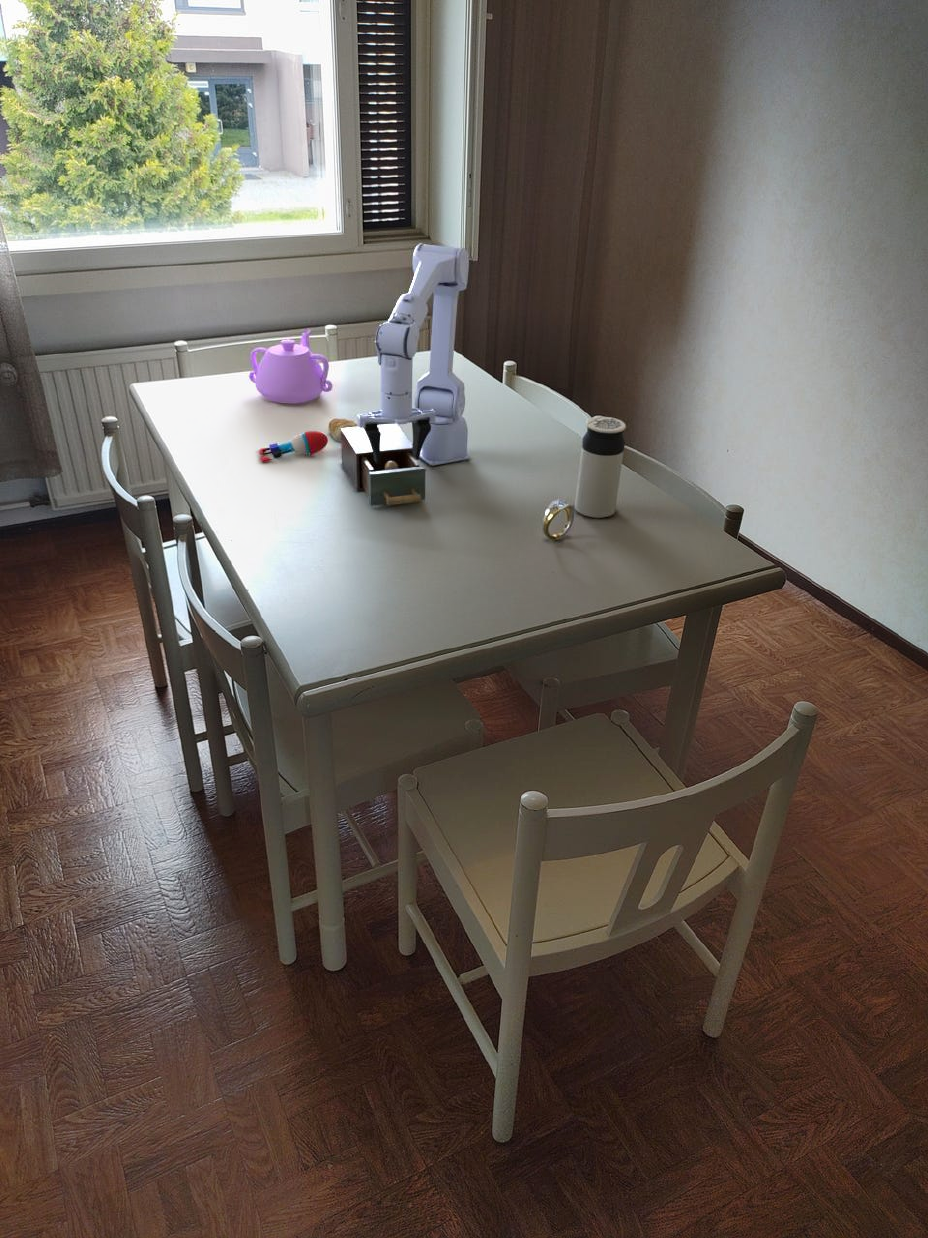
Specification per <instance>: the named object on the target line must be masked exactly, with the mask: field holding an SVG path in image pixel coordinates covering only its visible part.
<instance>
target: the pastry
mask: <svg viewBox="0 0 928 1238" xmlns="http://www.w3.org/2000/svg"><path fill="white" fill-rule="evenodd" d="M351 427H359V426H358V423H356V422H355V421H354V420H351V419H347V418H333V419H331V420H330V421H328V432H329V434H330V435H331V438H332V439H334V441H336V442H339V443H341V428H351Z"/></svg>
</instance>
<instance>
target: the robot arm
mask: <svg viewBox="0 0 928 1238" xmlns="http://www.w3.org/2000/svg"><path fill="white" fill-rule="evenodd" d="M469 266H470V258H469V254H468V252H467V250H466V248H465V247H454V246H445V245H436V244H435V245H433V244H425V243H423V242H420V243H418V244H417V245H416V247H415V248H414V251H413V253H412V272H413V275H414V276H413V279H412V282H411V284H410V287H409V290H408V293H403V294H402V295H401V296H400V297H399V298H398V300H397V302H396V304H395V306H394V308H393V311H392V312H391V314H390V316H389V318H388V320H387V321H384V322H383V323H382V324H379V326H378V327H377V330H376V333H375V341H374V348H375V352H376V355H377V363H378V365H379V366H380V405H381V406H380V410H375V411H371V412H367V413H359V414H357V415H356V416H357V417H356V420H357V423H356V424H357V425H358V426H359V427H360V428H364V430H365V432H366V434H367V437H368V439H369V441H370V444H371V447H372V451H373V456H374V460H375V462H376V463H377V464H378V463H380V439H381V433H380V431H379V427H378V426H377V425H387V424H398V425H407V424H409V423H411V428H412V429H411V430H412V444H413V447H412V453H413V457H414V458H415V460H416V461H418V460H420V459H421V460H422V461H424V463H426V464H427V465H428V466H430V467H435V466H438V465H439V466H440V465H443V464H449V463H450V464H451V463H455V462H460V461H466V460H468V459H469V456H468V438H469V437H468V436H469V434H468V433H469V431H468V430H469V429H468V424H467V421H466V418H465V417H464V416H463V415H464V412H465V407H466V395H465V382H464V381H462V379H460V378H459V377H458V376H457V375H456V374H455V373H454V372H453V369H454V367H453V366H454V353H455V340H456V325H457V311H458V309H457V308H458V300H459V293H460V292H462V291H465V290H467V285H468V283H469V282H468V281H469V280H468V278H469ZM432 294H433V303H432V304H433V305H432V306H433V307H432V320H431V321H432V322H431V338H430V356H429V371H428V372H427V373H425V374H424V375H422V376H421V377H420V378H419V379H418V380H417V383H416V391H415V394H414V400H413V366H414V365H413V361H414V360H413V359H414V357H415V355H416V354H417V351H418V344H419V340H420V336H421V335H420V330H421V328H422V326H423V323H424V322H425V320H426V317H427V315H428V312H429V307H428V304H427V302H428V300H429V299H430V298H431V296H432ZM413 407H414V408H413Z"/></svg>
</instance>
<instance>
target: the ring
mask: <svg viewBox="0 0 928 1238" xmlns="http://www.w3.org/2000/svg"><path fill="white" fill-rule="evenodd" d="M566 502H567V499H566V498H564V499H563V500H560V498H557V499H554V500H553V501H551V503H550V504H549V506H548V507H547V508H546V510H545V513H544V516H543V519H542V524H541V529H542V533H543V534H544V536H545V537H546V538H548V539H549V540H552V541H554V540H556V541H559V540H560V539H561V538H563V537H564V536H565V535H566V534H567V533H568V532H569V531H570V529H571V528H572V525H573V523H574V520H575V511H574V509H575V508H574V507H573V506H572V505H571V504H569V503H566ZM552 510H553V512H552ZM562 510H565V512H566V517H567V518H566V523H565V525H564V527H563V528H562V530H561V531H560V532H558V533H557V532H555V533H553V534H550V532H549V528H550V525H551V523H552V521H553V519H555V518H556V516H557V515H559V513H560V512H561V511H562Z"/></svg>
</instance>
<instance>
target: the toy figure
mask: <svg viewBox="0 0 928 1238" xmlns="http://www.w3.org/2000/svg"><path fill="white" fill-rule="evenodd" d="M328 442H329V438H328V435H326V434H325V433H323V432H321V431H317V430H308V431H304V433H303V432H302V433H301V434H296V435H294V436H293V437H292V438H291V441H289V442H284V443H281V444H278V443H277V442H275V443H270V444H268V446H269V447H262V448H260V449H259V450H258V454H259V455H260V460H261V463H267V462H270V461H272V460H273V458H274V459H281V458H282V456H283V455H286V454H289V453H295V454H296V455H301V456H302V455H310V456H311V455H314V454H317V453H319V452H320V451H321V452H322V450H324V449H325V448H326V446H327V445H328ZM267 455H272V456H273V458H270V457H268V456H267Z"/></svg>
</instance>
